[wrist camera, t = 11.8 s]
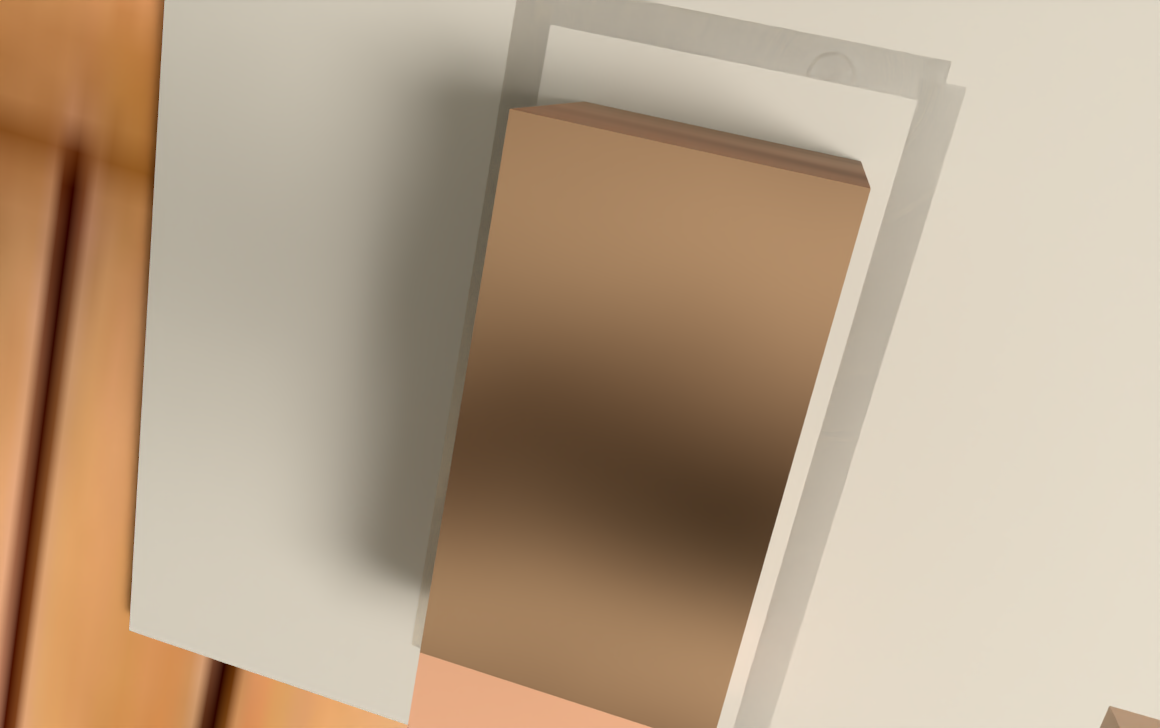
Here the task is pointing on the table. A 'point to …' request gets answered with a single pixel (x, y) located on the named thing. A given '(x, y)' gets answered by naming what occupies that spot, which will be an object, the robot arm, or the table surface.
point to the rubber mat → (844, 382)
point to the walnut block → (627, 417)
